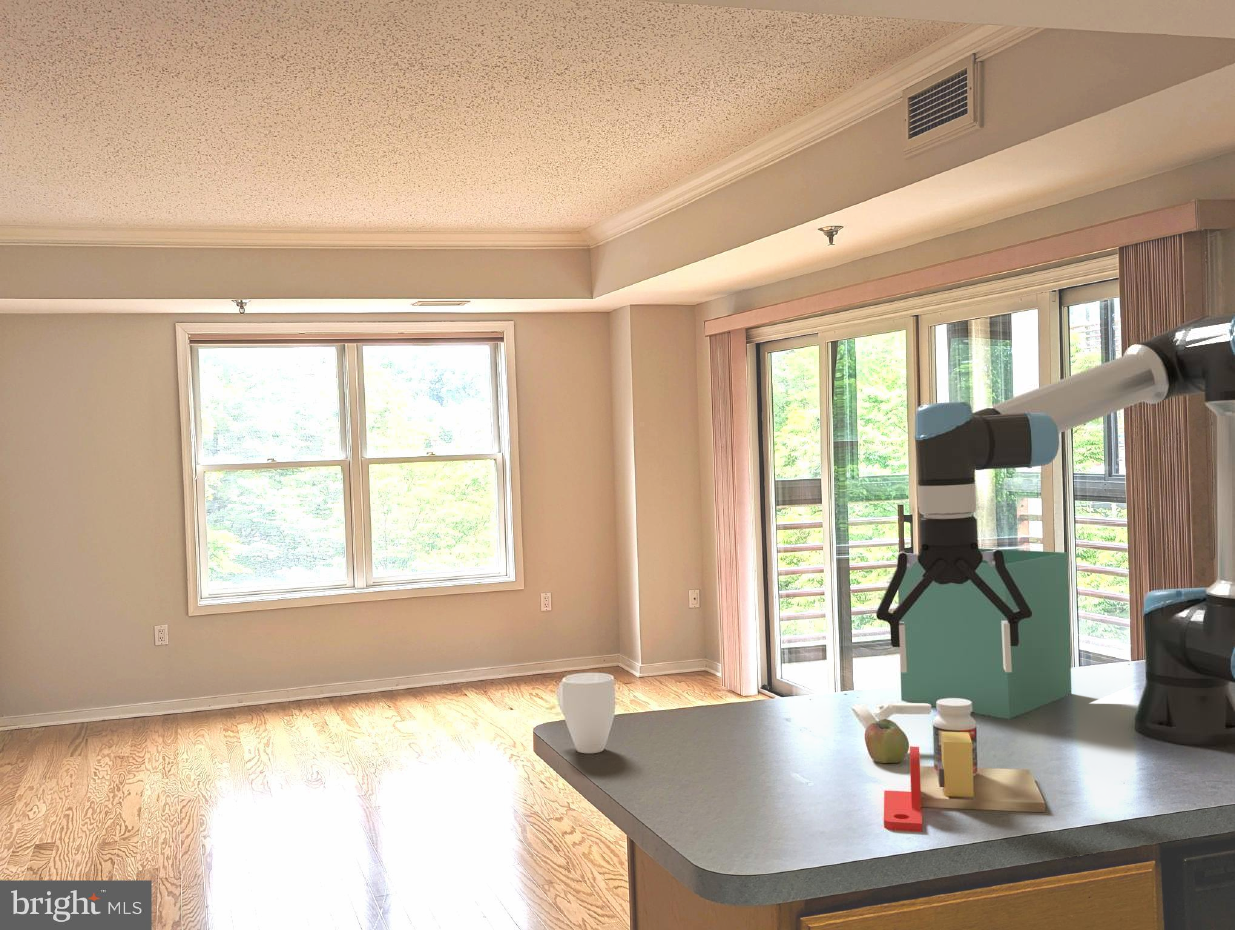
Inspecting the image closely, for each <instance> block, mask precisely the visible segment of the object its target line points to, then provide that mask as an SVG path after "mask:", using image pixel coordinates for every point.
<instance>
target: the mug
mask: <svg viewBox="0 0 1235 930" xmlns="http://www.w3.org/2000/svg"><path fill="white" fill-rule="evenodd" d="M615 687H616V684H615V678H614V675H612V674H609V673H605V672H579V673H574V674H568V675H565V676H564V677H563V678H562V680H561V682H560V683H559V684H558V687H557V702H558V705H559V706H558V707H559V709H560V711H561V713H562V715H563V716H564V721H565V723H566V726H567V730H568V731H569V733H570V735H571V739H572V741H573V744H574V746H575V750H576V751H577V752H578V753H582V754H595V753H596V754H597V753H601V752H603V751H604V749H605V748H606V747H605V746H606V745H607V741H608V738H609V735H610V732H611V729H612V725H613V722H614V719H615V714H616V713H615V712H616V688H615Z"/></svg>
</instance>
